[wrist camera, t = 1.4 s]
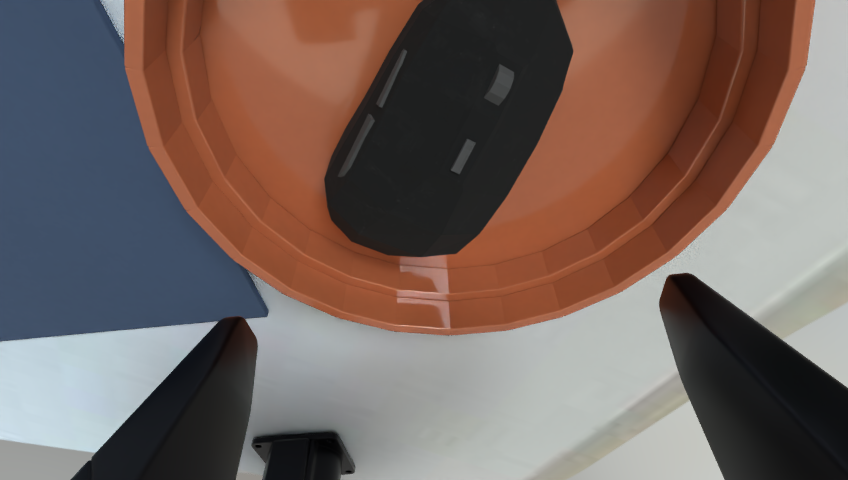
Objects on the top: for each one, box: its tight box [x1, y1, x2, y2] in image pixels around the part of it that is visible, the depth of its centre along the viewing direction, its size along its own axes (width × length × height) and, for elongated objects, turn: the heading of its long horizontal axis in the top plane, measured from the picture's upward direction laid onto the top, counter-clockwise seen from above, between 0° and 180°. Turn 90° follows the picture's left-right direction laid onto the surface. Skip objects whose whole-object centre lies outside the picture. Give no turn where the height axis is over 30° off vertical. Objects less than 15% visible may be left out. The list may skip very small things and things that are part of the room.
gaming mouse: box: [324, 0, 574, 257], centre depth 16 cm, size 6×15×4 cm, turn 151°
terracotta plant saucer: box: [124, 0, 815, 336], centre depth 16 cm, size 19×19×4 cm
